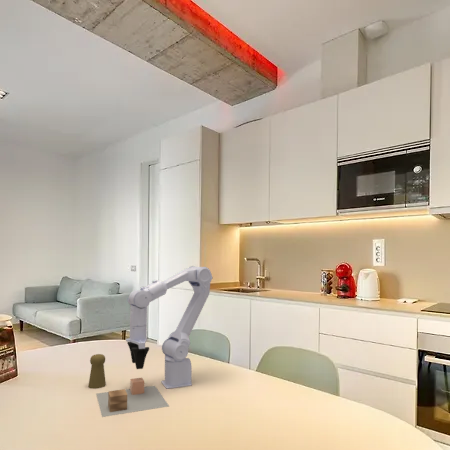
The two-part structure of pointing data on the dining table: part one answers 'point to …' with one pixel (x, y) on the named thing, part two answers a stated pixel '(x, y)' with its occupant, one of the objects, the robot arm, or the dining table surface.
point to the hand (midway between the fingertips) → (137, 365)
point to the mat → (134, 401)
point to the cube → (137, 386)
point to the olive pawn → (97, 372)
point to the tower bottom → (117, 406)
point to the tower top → (117, 396)
